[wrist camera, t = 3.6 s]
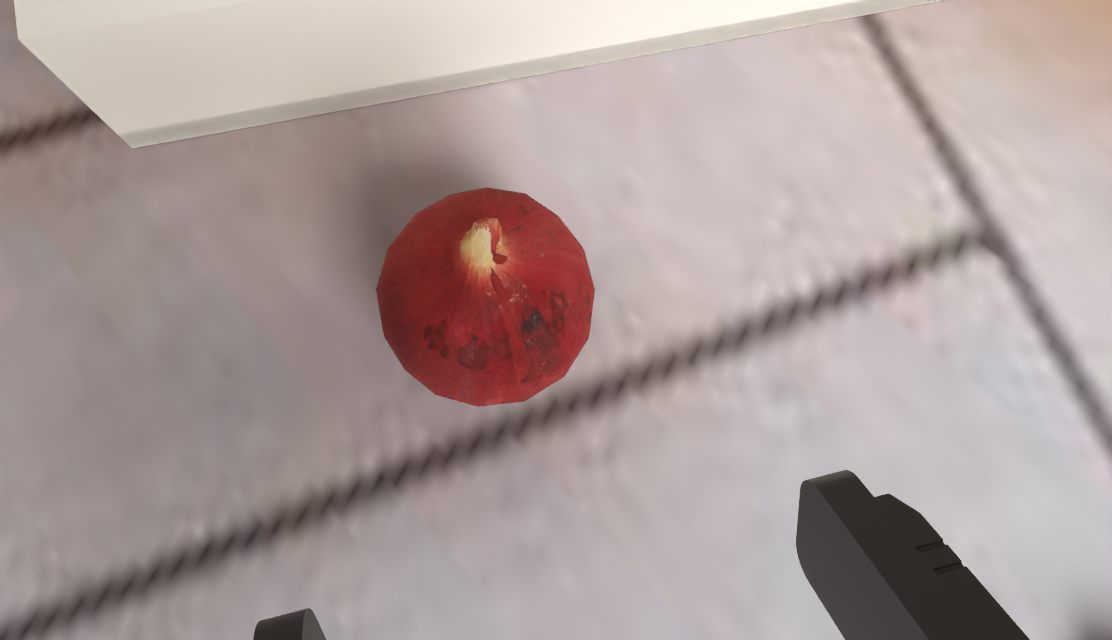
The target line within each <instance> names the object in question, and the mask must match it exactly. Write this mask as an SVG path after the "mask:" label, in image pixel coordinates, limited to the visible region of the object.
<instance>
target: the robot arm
mask: <svg viewBox="0 0 1112 640" xmlns="http://www.w3.org/2000/svg"><path fill="white" fill-rule="evenodd" d="M796 548H797V553H798V558H799V561H800V564H801V567H802V569H803V571H804V574H805V576H806V578H807V579H808V581H809V583H810V584H811V586H812V587H813V589H814V591H815V592H816V594H817V595H818V597H819V599H820V600H821V602H822V603H823V605H824V607H825V608H826V610H827V611H828V613H829V615H830V616H831V618H832V619H833V621H834V622H835V624H836V626H837V627H838V629H839V630H840V632H841V634H842V635H843V637H844V638H845V640H1030V639H1029V638H1028V637H1027V636H1026V635H1025V634H1024V633H1023V631H1022V630H1021V629H1020V628H1019V627H1018V626H1017V624H1016V623H1015V622H1014V621H1013V620H1012V619H1011V618H1010V616H1009V615H1008V614H1007V613H1006V612H1005V611H1004V609H1003V608H1002V607H1001V606H1000V605H999V604H998V603H997V601H996V600H995V599H994V598H993V597H992V596H991V594H990V593H989V592H988V591H987V590H986V589H985V588H984V586H983V585H982V584H981V583H980V582H979V581H978V579H977V578H976V577H975V576H974V575H973V574H972V573H971V571H970V570H969V569H968V568H967V567H964V566H963V565H962V563H961V560H960V559H959V558H958V556H957V555H956V554H955V553H954V552H953V551H952V549H951V548H950V547H949V546H948V545H945V544H944V543H943V539H942V538H941V537H940V536H939V534H938V533H937V532H936V531H935V530H934V529H933V527H932V526H931V525H930V524H929V523H928V522H927V521H926V519H925V518H924V517H923V516H922V515H921V514H920V513H919V512H917V511H916V510H914V509H913V508H911V507H909V506H908V505H906V504H905V503H903V502H901V501H900V500H898V499H897V498H895V497H894V496H892V495H890V494H885V495H881V496H878V497H873V495H872V494H871V493H870V492H869V491H868V489H867V488H866V487H865V486H864V484H863V483H862V482H861V481H860V480H859V478H858V477H857V476H856V475H855V474H854V473H852V472H851V471H848V470H844V471H840V472H836V473H832V474H828V475H824V476H821V477H817V478H813V479H809V480H805V481H803V483H802V485H801V489H800V500H799V512H798V524H797V536H796ZM253 640H326V638H325V636H324V634H323V632H322V630H321V627H320V625H319V623H318V621H317V619H316V617H315V615H314V613H313V611H312V610H311V609H309V608H308V609H304V610H300V611H296V612H292V613H289V614H285V615H281V616H277V617H273V618H269V619H266V620H262V621H259V623H258V624H257V626H256V629H255V633H254V639H253Z"/></svg>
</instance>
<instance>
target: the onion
mask: <svg viewBox="0 0 1112 640" xmlns="http://www.w3.org/2000/svg"><path fill="white" fill-rule="evenodd" d="M376 291H377V297H378V303H379V309H380V315H381V321H382V327H383V332H384V337H385V339H386V340H387V342H388V343H389V345H390V347H391V348H392V350H393V351H394V353H395V355H396V356H397V358H398V359H399V361H400V363H401V364H402V366H403V368H404V369H405V370H406V371H407V372H408V373H410V374H411V375H412V376H413V377H414V378H416V379H417V380H418V381H419V382H421V383H422V384H423V385H424V386H426V387H427V388H428V389H429V390H431V391H432V392H433V393H434V394H436V395H438V396H442V397H446V398H449V399H453V400H457V401H460V402H464V403H468V404H471V405H475V406H487V405H495V404H504V403H513V402H522V401H526V400H527V399H529V398H530V397H532V396H534V395H535V394H537V393H538V392H540V391H542V390H543V389H545V388H546V387H548V386H550V385H551V384H553V383H554V382H556V381H558V380H559V379H561V378H562V377H564V376H565V375H566V373H567V372H568V370H569V368H570V367H571V365H572V364H573V362H574V360H575V359H576V357H577V356H578V354H579V352H580V351H581V349H582V348H583V346H584V345H585V343H586V341H587V340H588V337H589V332H590V325H591V316H592V308H593V299H594V291H595V289H594V285H593V282H592V278H591V274H590V270H589V267H588V263H587V259H586V255H585V252H584V250H583V248H582V246H581V244H580V243H579V242H578V241H577V239H576V238H575V237H574V236H573V234H572V233H571V232H570V230H569V229H568V228H567V227H566V225H565V224H564V223H563V222H562V220H561V219H560V218H559V217H558V216H557V215H556V214H554V213H553V212H552V211H550V210H549V209H547V208H546V207H544V206H543V205H541V204H540V203H538V202H537V201H535V200H534V199H532V198H531V197H530V196H528V195H527V194H524V193H518V192H511V191H505V190H498V189H492V188H483V189H477V190H472V191H466V192H461V193H455V194H450V195H448V196H447V197H445V198H443V199H441V200H440V201H438V202H436V203H434V204H433V205H431V206H429V207H427V208H426V209H424V210H422V211H420V212H419V213H417V214H416V215H415V216H414V217H413V219H412V220H411V221H410V222H409V223H408V225H407V226H406V227H405V228H404V230H403V231H402V232H401V233H400V235H399V236H398V237H397V238H396V239H395V241H394V242H393V243H392V244H391V246H390V247H389V248H388V250H387V254H386V257H385V261H384V264H383V268H382V271H381V275H380V278H379V282H378V285H377V289H376Z"/></svg>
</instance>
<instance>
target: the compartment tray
mask: <svg viewBox="0 0 1112 640" xmlns="http://www.w3.org/2000/svg"><path fill="white" fill-rule="evenodd" d="M940 1H946V0H14V5H15V15H16V25H17V34H18V40H19V41H20V42H21V43H22V44H23V45H25V46H26V47H27V48H28V49H29V50H30V51H31V52H32V53H33V54H34V55H35V56H36V57H37V58H38V59H39V60H40V61H41V62H42V63H43V64H44V65H45V66H46V67H47V68H49V69H50V70H51V71H52V72H53V73H54V74H55V75H56V76H57V77H58V78H59V79H60V80H61V81H62V82H63V83H64V84H65V85H66V86H67V87H68V88H69V89H70V90H72V91H73V92H74V93H75V94H76V95H77V96H78V97H79V98H80V99H81V100H82V101H83V102H84V103H85V104H86V105H87V106H88V107H89V108H90V109H91V110H92V111H93V112H95V113H96V114H97V115H98V116H99V117H100V118H101V119H102V120H103V121H104V122H105V123H106V124H107V125H108V126H109V127H110V128H111V129H112V130H113V131H114V132H115V133H116V134H117V135H119V136H120V137H121V138H122V139H123V140H124V141H125V142H126V143H127V144H128V145H129V146H130V147H131V148H138V147H143V146H149V145H154V144H160V143H165V142H171V141H176V140H182V139H187V138H193V137H198V136H204V135H209V134H215V133H220V132H226V131H231V130H237V129H242V128H248V127H253V126H259V125H264V124H270V123H275V122H281V121H286V120H292V119H297V118H303V117H308V116H314V115H319V114H325V113H330V112H336V111H341V110H347V109H352V108H358V107H363V106H369V105H374V104H380V103H385V102H391V101H396V100H402V99H407V98H413V97H418V96H424V95H429V94H435V93H440V92H446V91H451V90H457V89H462V88H468V87H473V86H479V85H484V84H490V83H495V82H501V81H506V80H512V79H517V78H523V77H528V76H534V75H539V74H545V73H550V72H556V71H561V70H567V69H572V68H578V67H583V66H589V65H594V64H600V63H605V62H611V61H616V60H622V59H627V58H633V57H638V56H644V55H649V54H655V53H660V52H666V51H671V50H677V49H682V48H688V47H693V46H698V45H704V44H709V43H715V42H720V41H726V40H731V39H737V38H742V37H748V36H753V35H759V34H764V33H770V32H775V31H781V30H786V29H792V28H797V27H803V26H808V25H814V24H819V23H825V22H830V21H836V20H841V19H847V18H852V17H858V16H863V15H869V14H874V13H880V12H885V11H891V10H896V9H902V8H907V7H913V6H918V5H924V4H929V3H935V2H940Z"/></svg>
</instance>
